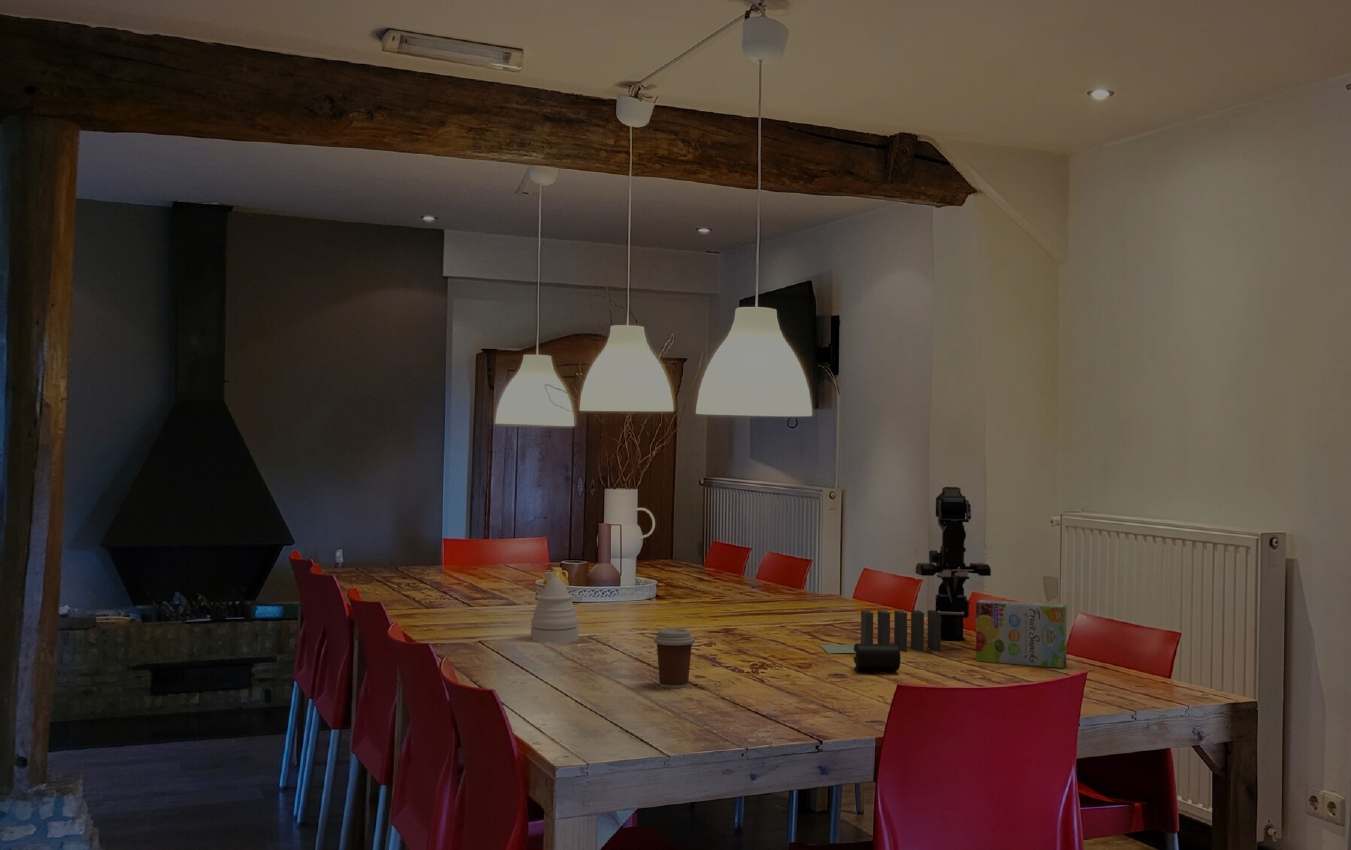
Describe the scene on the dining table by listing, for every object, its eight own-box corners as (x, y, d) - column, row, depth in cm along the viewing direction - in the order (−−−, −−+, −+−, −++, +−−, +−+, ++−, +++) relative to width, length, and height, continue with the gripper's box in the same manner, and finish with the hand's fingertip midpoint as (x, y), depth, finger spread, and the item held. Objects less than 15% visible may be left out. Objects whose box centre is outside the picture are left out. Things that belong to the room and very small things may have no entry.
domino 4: (935, 647, 300) (935, 610, 301) (941, 651, 295) (941, 613, 296) (927, 648, 300) (927, 610, 300) (933, 651, 295) (933, 613, 295)
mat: (852, 645, 302) (852, 644, 302) (862, 653, 290) (862, 652, 290) (818, 645, 302) (818, 644, 302) (828, 654, 290) (828, 652, 290)
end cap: (858, 675, 263) (858, 646, 264) (852, 669, 270) (852, 640, 271) (900, 675, 264) (900, 646, 264) (893, 669, 271) (893, 640, 271)
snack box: (1066, 665, 278) (1067, 604, 279) (1064, 669, 273) (1064, 606, 273) (978, 657, 287) (979, 598, 287) (974, 661, 282) (975, 600, 282)
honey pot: (522, 640, 305) (523, 573, 305) (545, 633, 317) (546, 569, 317) (564, 644, 300) (565, 576, 300) (586, 637, 312) (587, 571, 312)
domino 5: (868, 648, 299) (869, 610, 299) (873, 651, 294) (873, 612, 294) (860, 648, 299) (861, 610, 299) (865, 651, 294) (865, 613, 294)
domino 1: (885, 648, 299) (885, 610, 300) (890, 651, 294) (890, 613, 295) (877, 648, 299) (877, 610, 299) (882, 651, 294) (882, 612, 294)
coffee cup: (680, 691, 243) (681, 635, 243) (645, 686, 248) (645, 631, 248) (702, 684, 251) (702, 629, 251) (667, 679, 256) (668, 626, 256)
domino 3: (918, 648, 300) (919, 610, 300) (924, 651, 295) (924, 613, 295) (910, 648, 300) (911, 610, 300) (916, 651, 295) (916, 613, 295)
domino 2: (902, 648, 300) (902, 610, 300) (907, 651, 295) (907, 613, 295) (894, 648, 300) (894, 610, 300) (899, 651, 295) (899, 613, 295)
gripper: (977, 540, 308) (976, 598, 307) (909, 540, 306) (909, 598, 306) (991, 544, 296) (991, 603, 296) (922, 543, 295) (921, 603, 295)
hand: (952, 602), depth 299 cm, fingers closed
